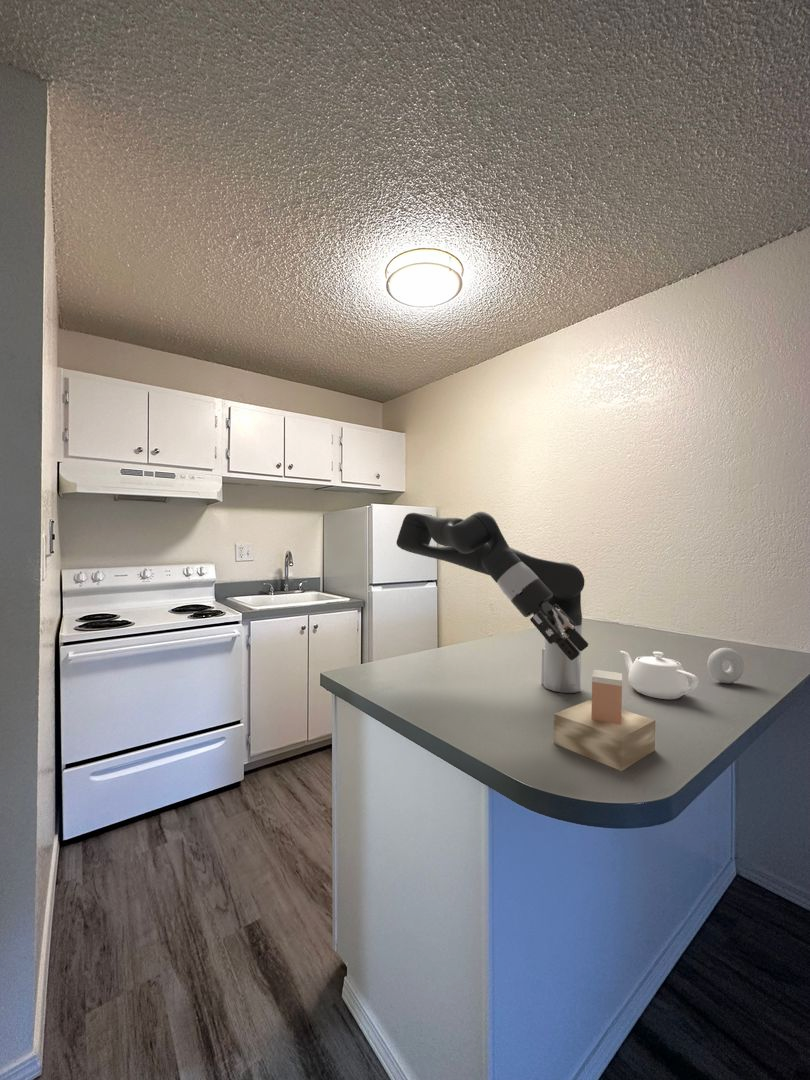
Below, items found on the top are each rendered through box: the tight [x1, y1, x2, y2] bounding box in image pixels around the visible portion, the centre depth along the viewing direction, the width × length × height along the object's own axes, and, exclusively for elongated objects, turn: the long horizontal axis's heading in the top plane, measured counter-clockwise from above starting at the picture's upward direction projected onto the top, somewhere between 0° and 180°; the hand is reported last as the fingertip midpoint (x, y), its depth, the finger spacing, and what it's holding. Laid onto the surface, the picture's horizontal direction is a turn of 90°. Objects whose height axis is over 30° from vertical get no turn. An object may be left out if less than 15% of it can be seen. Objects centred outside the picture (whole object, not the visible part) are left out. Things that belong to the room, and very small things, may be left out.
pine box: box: [553, 699, 656, 772], centre depth 85 cm, size 13×13×6 cm
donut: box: [706, 647, 746, 684], centre depth 127 cm, size 10×4×10 cm, turn 92°
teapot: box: [619, 650, 699, 700], centre depth 118 cm, size 22×14×11 cm, turn 24°
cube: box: [591, 669, 623, 725], centre depth 85 cm, size 5×5×8 cm
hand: (580, 652), depth 87 cm, fingers open, 8 cm apart
